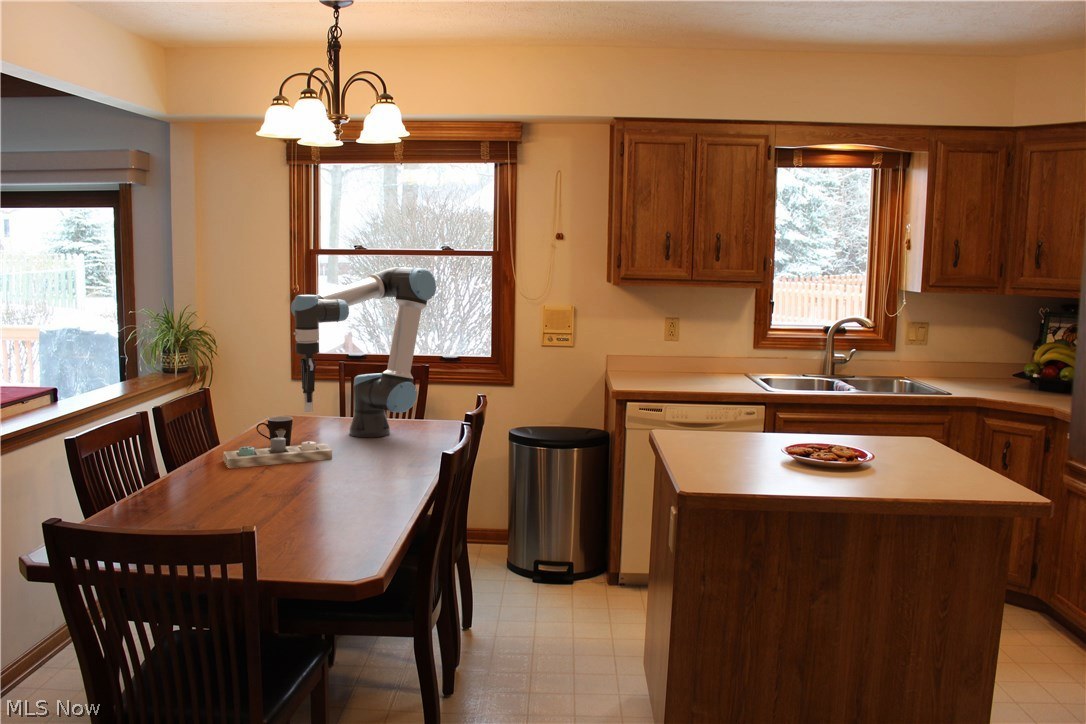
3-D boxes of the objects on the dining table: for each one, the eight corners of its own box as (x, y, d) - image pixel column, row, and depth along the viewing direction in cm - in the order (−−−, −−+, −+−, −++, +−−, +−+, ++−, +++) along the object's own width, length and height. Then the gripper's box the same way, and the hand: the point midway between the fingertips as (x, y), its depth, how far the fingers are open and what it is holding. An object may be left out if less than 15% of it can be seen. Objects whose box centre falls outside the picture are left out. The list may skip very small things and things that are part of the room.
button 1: (314, 453, 289) (314, 440, 288) (317, 457, 285) (317, 443, 284) (300, 455, 287) (299, 441, 286) (303, 458, 283) (302, 444, 282)
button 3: (253, 459, 280) (253, 445, 279) (255, 462, 276) (255, 448, 275) (238, 460, 278) (237, 446, 277) (240, 464, 273) (239, 449, 273)
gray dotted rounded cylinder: (284, 450, 284) (284, 436, 284) (287, 453, 280) (286, 439, 279) (269, 451, 282) (269, 437, 281) (272, 454, 278) (271, 440, 277)
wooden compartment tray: (324, 451, 294) (324, 443, 293) (332, 458, 284) (332, 450, 284) (223, 460, 278) (223, 451, 278) (228, 468, 269) (227, 459, 268)
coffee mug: (297, 444, 304) (296, 416, 303) (287, 449, 295) (287, 421, 294) (265, 442, 305) (265, 415, 304) (255, 448, 297) (254, 420, 295)
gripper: (291, 340, 285) (293, 408, 288) (299, 344, 273) (301, 416, 277) (314, 339, 288) (315, 407, 291) (323, 343, 277) (324, 414, 280)
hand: (308, 411), depth 284 cm, fingers closed
